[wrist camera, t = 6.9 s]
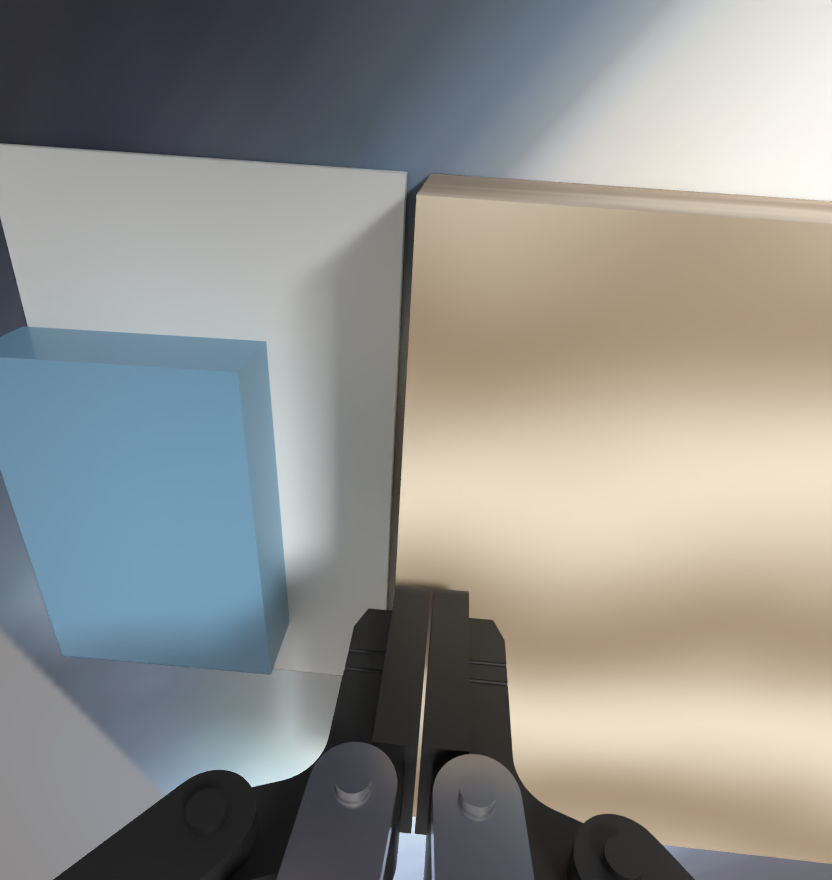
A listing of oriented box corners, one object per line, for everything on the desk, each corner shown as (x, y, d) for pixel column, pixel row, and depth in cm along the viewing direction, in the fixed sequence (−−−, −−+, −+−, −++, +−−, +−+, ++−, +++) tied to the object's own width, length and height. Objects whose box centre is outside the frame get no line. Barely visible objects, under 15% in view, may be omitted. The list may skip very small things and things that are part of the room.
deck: (431, 173, 13) (416, 195, 9) (1229, 228, 12) (1537, 275, 9) (397, 692, 20) (382, 812, 17) (888, 743, 20) (979, 880, 16)
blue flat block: (237, 372, 13) (266, 341, 14) (-38, 354, 13) (22, 326, 15) (270, 674, 17) (289, 621, 19) (62, 655, 17) (100, 605, 19)
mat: (-6, 142, 13) (-19, 143, 13) (407, 171, 13) (405, 173, 12) (116, 642, 20) (110, 651, 20) (383, 670, 20) (382, 679, 20)
